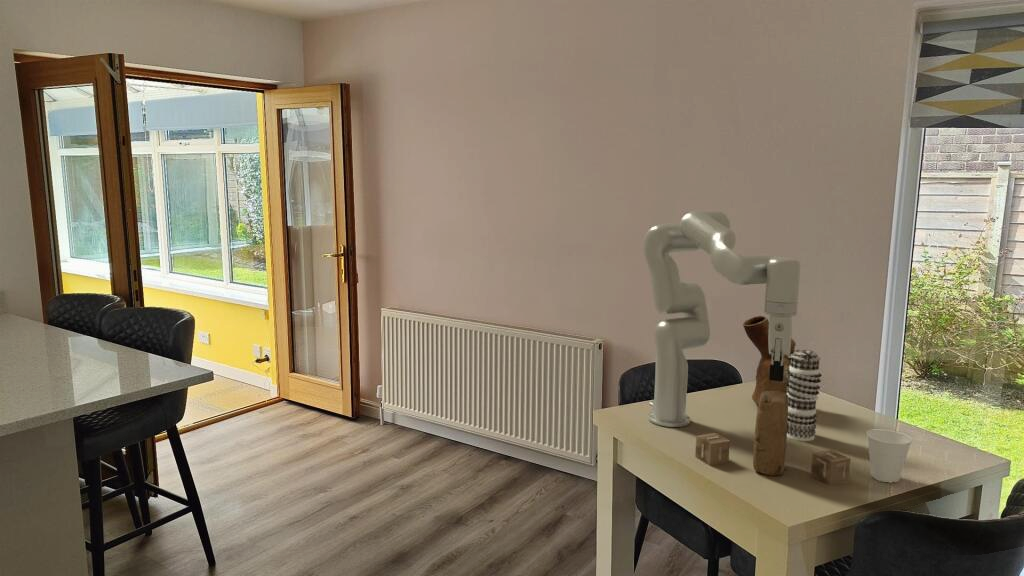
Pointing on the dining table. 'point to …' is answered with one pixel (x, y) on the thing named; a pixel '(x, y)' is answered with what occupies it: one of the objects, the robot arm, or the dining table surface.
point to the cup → (887, 454)
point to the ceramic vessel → (765, 357)
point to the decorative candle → (802, 394)
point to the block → (771, 433)
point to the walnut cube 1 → (712, 449)
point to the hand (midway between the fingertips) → (776, 379)
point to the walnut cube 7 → (830, 467)
